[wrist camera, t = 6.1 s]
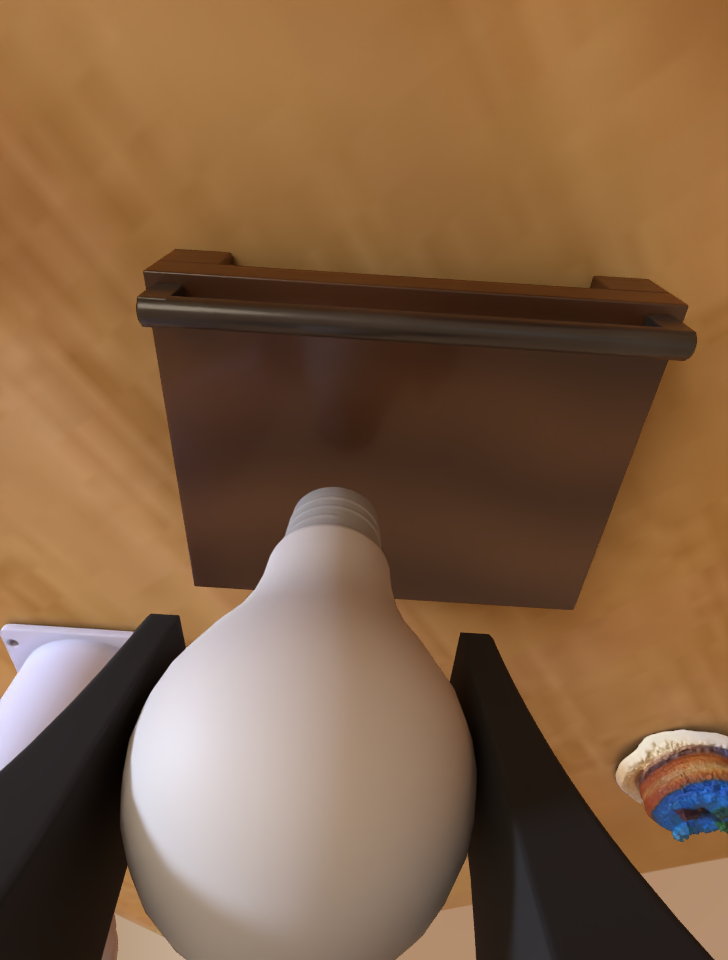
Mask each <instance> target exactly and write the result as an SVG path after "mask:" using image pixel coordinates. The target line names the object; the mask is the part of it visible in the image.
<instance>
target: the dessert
mask: <svg viewBox="0 0 728 960" xmlns="http://www.w3.org/2000/svg"><path fill="white" fill-rule="evenodd" d="M615 777H616V781H617V783H618V785H619V787H620V788H621V790H622V791H623V792H624V793H626V794H627V795H629V796H630V797H631V798H632V799H634V800H636V801H637V802H639V803H641V804H643V803H644V806H645V810H646V812H647V815H648V816H649V817H650V818H651V819H653V820H654V821H655V822H656V823H658V824H659V825H660V826H662V827H663V828H665V829H667V830H670V831H672V832H673V833H672V836H673V837H674V839H676V840H677V841H681V842H684V840H683V839H684V838H685V839H688V838H689V835H692V834H698V835H699V832H701V833H702V832H704V833H708V832H712V831H716V830H718V829H719V830H720V832H722V831H725V832H726V833H727V834H728V737H727V736H725V735H721V734H718V733H708V732H703V731H701V732H698V731H696V732H695V731H686V730H683V729H681V730H675V731H665V732H661V733H657V734H652V735H650V736H647V737H646V738H644V739H643V741H642V742H641V743H640V744H639V746H638V748H637V749H636V750H635V751H634V752H633V753H631V754H630V755H629V756H627V757H626V758H625V759H624V760H623V761H621V763H620V764H619V766H618V769H617V772H616V776H615Z"/></svg>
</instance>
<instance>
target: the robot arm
mask: <svg viewBox="0 0 728 960" xmlns="http://www.w3.org/2000/svg"><path fill="white" fill-rule="evenodd" d="M0 636H1V638H2V640H3V642H4V644H5V646H6V648H7V651H8V653H9V655H10V657H11V659H12V661H13V663H14V666H15V668H16V670H17V672H18V674H17V675H16V677H15V678H14V680H13V681H12V683H11V684H10V686H9V687H8V689H7V691H6V692H5V694H4V695H3V697H2V698H1V700H0V960H117V951H118V937H117V931H116V920H115V915H114V911H115V907H116V904H117V900H118V897H119V893H120V890H121V886H122V883H123V879H124V876H125V872H126V869H127V865H128V864H127V860H126V855H125V850H124V845H123V840H122V835H121V830H120V803H121V785H122V777H123V771H124V765H125V760H126V755H127V750H128V744H129V739H130V737H131V734H132V732H133V729H134V727H135V725H136V722H137V720H138V717H139V715H140V712H141V710H142V708H143V706H144V704H145V702H146V701H147V699H148V697H149V695H150V693H151V691H152V690H153V689H154V687H155V686H156V684H157V683H158V681H159V680H160V679H161V677H162V676H163V674H164V673H165V672H166V670H167V669H168V667H169V666H170V664H171V663H172V662H173V661H174V660H175V659H176V658H177V657H178V656H179V655H180V654H181V653H182V652H183V651H184V650H185V649H186V647H185V642H184V637H183V632H182V627H181V622H180V617H179V615H163V614H150V615H149V616H148V617H146V619H145V620H144V621H143V622H142V623H141V625H140V626H139V627H138V628H137V629H136V630H135V632H134V631H119V630H103V629H87V628H71V627H56V626H40V625H24V624H6V625H4V627H3V628H2V629H1V631H0ZM450 683H451V685H452V686H453V688H454V690H455V692H456V695H457V698H458V700H459V703H460V706H461V708H462V711H463V713H464V716H465V719H466V721H467V725H468V728H469V731H470V734H471V737H472V740H473V746H474V753H475V761H476V768H477V783H476V801H475V817H474V826H473V830H472V834H471V839H470V843H469V848H468V860H469V868H470V876H471V889H472V903H473V917H474V930H475V946H476V960H714V959H713V958H712V957H711V955H710V954H709V953H708V952H707V951H706V950H705V949H704V948H703V947H702V946H701V944H700V943H699V942H698V941H697V940H696V939H695V938H694V937H693V935H692V934H691V933H690V932H689V931H688V930H687V929H686V928H685V926H684V925H683V924H682V923H681V922H680V921H679V920H678V919H677V917H676V916H675V915H674V914H673V913H672V911H671V910H670V909H669V908H668V907H667V905H666V904H665V903H664V902H663V901H662V899H661V898H660V897H659V896H658V895H657V893H656V892H655V891H654V890H653V889H652V887H651V886H650V885H649V884H648V883H647V881H646V880H645V879H644V878H643V877H642V875H641V874H640V873H639V872H638V871H637V869H636V868H635V867H634V866H633V864H632V863H631V862H630V861H629V859H628V858H627V857H626V856H625V854H624V853H623V852H622V850H621V849H620V848H619V846H618V845H617V844H616V842H615V841H614V840H613V839H612V837H611V836H610V835H609V833H608V832H607V831H606V829H605V828H604V827H603V825H602V824H601V822H600V821H599V820H598V818H597V817H596V816H595V814H594V813H593V811H592V810H591V809H590V807H589V806H588V804H587V803H586V802H585V800H584V799H583V797H582V796H581V794H580V793H579V791H578V790H577V788H576V787H575V785H574V784H573V782H572V781H571V779H570V778H569V776H568V775H567V773H566V772H565V770H564V769H563V767H562V765H561V764H560V762H559V761H558V759H557V758H556V756H555V755H554V753H553V751H552V750H551V748H550V746H549V745H548V743H547V741H546V740H545V738H544V736H543V735H542V733H541V731H540V729H539V728H538V726H537V724H536V722H535V721H534V719H533V717H532V716H531V714H530V712H529V710H528V709H527V707H526V705H525V703H524V701H523V699H522V698H521V696H520V694H519V692H518V690H517V688H516V686H515V684H514V682H513V680H512V678H511V676H510V674H509V672H508V670H507V668H506V666H505V664H504V662H503V660H502V658H501V655H500V653H499V651H498V649H497V647H496V644H495V642H494V640H493V638H492V637H491V636H490V635H489V634H476V633H460V637H459V642H458V646H457V651H456V655H455V660H454V665H453V669H452V674H451V679H450Z"/></svg>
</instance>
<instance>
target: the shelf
mask: <svg viewBox="0 0 728 960" xmlns="http://www.w3.org/2000/svg"><path fill="white" fill-rule="evenodd" d="M143 274H144V280H145V286H146V290H145V291H144V292H143V293H141V294H140V295H139V296H137V303H136V312H137V317H138V320H139V322H140V324H141V325H142V326H143V327H152V329H153V335H154V341H155V347H156V353H157V359H158V365H159V371H160V378H161V384H162V390H163V396H164V402H165V408H166V414H167V420H168V426H169V433H170V439H171V445H172V451H173V457H174V463H175V469H176V475H177V482H178V488H179V494H180V500H181V506H182V512H183V518H184V524H185V531H186V537H187V543H188V549H189V555H190V561H191V567H192V573H193V579H194V585H195V586H201V587H217V588H233V589H248V590H255V589H256V587H257V585H258V583H259V582H260V580H261V578H262V576H263V575H264V572H265V569H266V566H267V563H268V561H269V558H270V555H271V553H272V552H273V550H274V548H275V547H276V546H277V544H278V543H279V542H280V541H281V540H282V539H283V538H284V536H285V534H286V530H287V527H288V525H289V521H290V518H291V516H292V514H293V511H294V508H295V507H296V505H297V503H298V502H299V501H300V500H301V499H302V498H303V497H304V496H305V495H307V494H308V493H310V492H312V491H314V490H317V489H321V488H325V487H340V488H346V489H349V490H352V491H355V492H357V493H359V494H361V495H362V496H363V497H365V498H366V499H367V500H368V501H369V502H370V503H371V504H372V505H373V507H374V508H375V510H376V513H377V515H378V522H379V529H380V536H381V550H382V552H383V553H384V555H385V557H386V559H387V562H388V565H389V569H390V580H391V588H392V592H393V596H394V599H406V600H422V601H437V602H453V603H469V604H485V605H500V606H516V607H532V608H547V609H563V610H574V607H575V605H576V602H577V599H578V597H579V594H580V591H581V589H582V586H583V583H584V581H585V578H586V576H587V573H588V570H589V568H590V565H591V562H592V560H593V557H594V555H595V552H596V549H597V547H598V544H599V541H600V539H601V536H602V533H603V531H604V528H605V526H606V523H607V520H608V518H609V515H610V512H611V510H612V507H613V504H614V502H615V499H616V497H617V494H618V491H619V489H620V486H621V483H622V481H623V478H624V475H625V473H626V470H627V468H628V465H629V462H630V460H631V457H632V454H633V452H634V449H635V446H636V444H637V441H638V439H639V436H640V433H641V431H642V428H643V425H644V423H645V420H646V417H647V415H648V412H649V410H650V407H651V404H652V402H653V399H654V396H655V394H656V391H657V389H658V386H659V383H660V381H661V378H662V375H663V373H664V370H665V367H666V365H667V362H668V360H678V361H685V360H686V359H689V358H690V357H691V356H692V355H693V353H694V351H695V348H696V345H697V335H696V332H695V331H693V330H692V329H691V328H689V327H688V326H687V325H685V324H684V323H683V320H684V317H685V315H686V312H687V309H688V305H687V304H686V303H684V302H682V301H681V300H679V299H678V298H676V297H675V296H673V295H672V294H670V293H669V292H667V291H666V290H664V289H663V288H661V287H660V286H658V285H656V284H655V283H653V282H652V281H650V280H649V279H635V278H619V277H603V276H594V277H593V280H592V284H591V287H590V288H576V287H560V286H544V285H529V284H513V283H497V282H482V281H466V280H451V279H435V278H419V277H404V276H388V275H372V274H357V273H341V272H325V271H310V270H294V269H279V268H263V267H247V266H232V256H231V253H229V252H214V251H198V250H182V249H175V250H173V251H172V252H170V253H169V254H167V255H166V256H164V257H163V258H161V259H160V260H159V261H157V262H156V263H154V264H153V265H151V266H150V267H148V268H147V269H145V270H144V271H143Z"/></svg>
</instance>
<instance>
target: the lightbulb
mask: <svg viewBox="0 0 728 960" xmlns="http://www.w3.org/2000/svg"><path fill="white" fill-rule="evenodd" d="M476 783H477V768H476V761H475V753H474V746H473V740H472V737H471V734H470V731H469V728H468V725H467V721H466V719H465V716H464V713H463V711H462V708H461V706H460V703H459V700H458V698H457V695H456V692H455V690H454V688H453V686H452V685H451V683H450V682H449V681H448V679H447V678H446V676H445V675H444V673H443V672H442V670H441V669H440V668H439V666H438V665H437V663H436V662H435V660H434V659H433V657H432V656H431V655H430V653H429V652H428V650H427V649H426V647H425V646H424V645H423V643H422V642H421V640H420V639H419V638H418V636H417V635H416V634H415V633H414V632H413V631H412V630H411V628H410V627H409V626H408V625H407V624H406V623H405V621H404V620H403V618H402V616H401V614H400V612H399V610H398V608H397V606H396V603H395V599H394V596H393V592H392V588H391V580H390V569H389V565H388V562H387V559H386V557H385V555H384V553H383V552H382V550H381V536H380V529H379V522H378V515H377V513H376V510H375V508H374V507H373V505H372V504H371V503H370V502H369V501H368V500H367V499H366V498H365V497H363V496H362V495H361V494H359V493H357V492H355V491H352V490H349V489H346V488H340V487H325V488H321V489H317V490H314V491H312V492H310V493H308V494H307V495H305V496H304V497H303V498H302V499H301V500H300V501H299V502H298V503H297V505H296V507H295V508H294V511H293V514H292V516H291V518H290V521H289V525H288V527H287V530H286V534H285V536H284V538H283V539H282V540H281V541H280V542H279V543H278V544H277V546H276V547H275V548H274V550H273V552H272V553H271V555H270V558H269V561H268V563H267V566H266V569H265V572H264V575H263V576H262V578H261V580H260V582H259V583H258V585H257V587H256V589H255V590H254V591H253V592H252V593H251V594H250V595H249V597H248V598H247V599H246V600H245V601H244V602H243V603H242V604H240V605H239V606H237V607H236V608H235V609H233V610H232V611H230V612H229V613H227V614H226V615H225V616H223V617H222V618H220V619H219V620H218V621H217V622H216V623H214V624H213V625H212V626H211V627H210V628H209V629H207V630H206V631H205V632H204V633H203V634H202V635H201V636H199V637H198V638H197V639H196V640H195V641H194V642H192V643H191V644H190V645H189V646H188V647H187V648H186V649H185V650H184V651H183V652H182V653H181V654H180V655H179V656H178V657H177V658H176V659H175V660H174V661H173V662H172V663H171V664H170V666H169V667H168V669H167V670H166V672H165V673H164V674H163V676H162V677H161V679H160V680H159V681H158V683H157V684H156V686H155V687H154V689H153V690H152V691H151V693H150V695H149V697H148V699H147V701H146V702H145V704H144V706H143V708H142V710H141V712H140V715H139V717H138V720H137V722H136V725H135V727H134V729H133V732H132V734H131V737H130V739H129V744H128V750H127V755H126V760H125V765H124V771H123V777H122V785H121V803H120V830H121V835H122V840H123V845H124V850H125V855H126V860H127V864H128V868H129V871H130V874H131V877H132V880H133V883H134V885H135V888H136V890H137V893H138V895H139V898H140V900H141V903H142V905H143V908H144V910H145V912H146V914H147V915H148V916H149V918H150V919H151V920H152V921H153V923H154V924H155V925H156V927H157V928H158V929H159V930H160V932H161V933H162V934H163V936H164V937H165V938H166V940H167V941H168V942H169V943H170V944H171V946H172V947H173V949H174V950H175V951H176V952H177V953H179V954H180V955H181V956H182V957H184V958H185V959H186V960H396V959H397V958H398V957H399V956H400V955H401V954H403V953H404V952H405V951H406V950H407V949H408V948H410V947H411V946H412V945H413V944H414V943H415V942H416V941H417V940H418V939H420V938H421V936H423V934H424V933H425V932H426V930H427V929H428V927H429V926H430V924H431V923H432V921H433V920H434V919H435V917H436V916H437V914H438V913H439V911H440V910H441V908H442V907H443V906H444V904H445V902H446V900H447V898H448V895H449V893H450V891H451V889H452V887H453V885H454V883H455V881H456V878H457V876H458V874H459V872H460V870H461V868H462V866H463V864H464V861H465V859H466V857H467V852H468V848H469V843H470V839H471V834H472V830H473V826H474V817H475V801H476Z"/></svg>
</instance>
